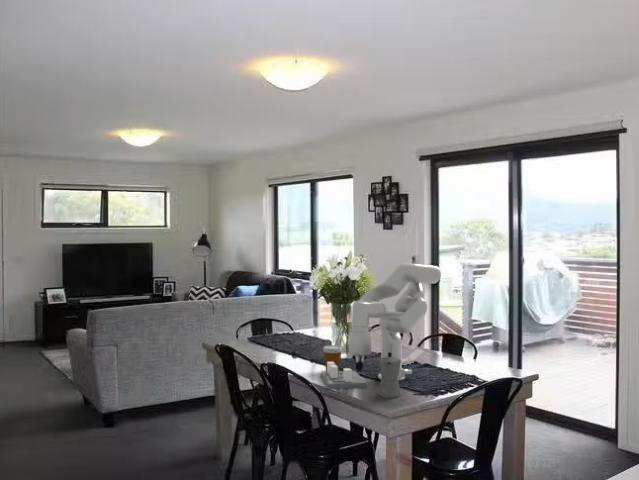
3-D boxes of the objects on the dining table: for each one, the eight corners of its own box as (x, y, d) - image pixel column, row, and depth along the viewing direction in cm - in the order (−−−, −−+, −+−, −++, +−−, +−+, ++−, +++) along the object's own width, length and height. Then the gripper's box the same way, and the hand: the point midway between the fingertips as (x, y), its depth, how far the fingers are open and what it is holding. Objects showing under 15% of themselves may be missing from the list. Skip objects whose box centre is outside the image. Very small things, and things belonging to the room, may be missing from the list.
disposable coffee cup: (325, 374, 292) (325, 349, 291) (320, 369, 301) (320, 345, 300) (344, 373, 294) (344, 348, 294) (338, 368, 303) (338, 344, 303)
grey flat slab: (355, 375, 290) (355, 370, 290) (365, 387, 268) (365, 382, 268) (320, 376, 287) (320, 372, 287) (327, 388, 266) (327, 384, 266)
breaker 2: (336, 375, 280) (336, 364, 279) (337, 378, 275) (337, 367, 275) (329, 376, 279) (329, 365, 279) (331, 378, 275) (331, 367, 275)
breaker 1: (333, 372, 286) (333, 361, 286) (335, 374, 282) (335, 363, 282) (327, 372, 286) (327, 361, 286) (328, 374, 282) (328, 363, 281)
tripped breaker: (349, 379, 273) (349, 368, 273) (351, 381, 269) (351, 370, 269) (343, 379, 273) (343, 368, 273) (345, 381, 269) (345, 370, 268)
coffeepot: (400, 399, 249) (400, 356, 249) (377, 398, 251) (377, 355, 250) (401, 389, 264) (401, 348, 264) (379, 388, 266) (379, 347, 265)
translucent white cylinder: (424, 351, 318) (389, 357, 303) (424, 362, 318) (390, 368, 303) (416, 349, 323) (381, 355, 308) (416, 360, 323) (381, 366, 308)
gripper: (374, 328, 276) (373, 368, 276) (342, 328, 274) (340, 368, 274) (378, 330, 269) (377, 372, 269) (345, 330, 266) (344, 372, 266)
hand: (358, 370), depth 271 cm, fingers closed
